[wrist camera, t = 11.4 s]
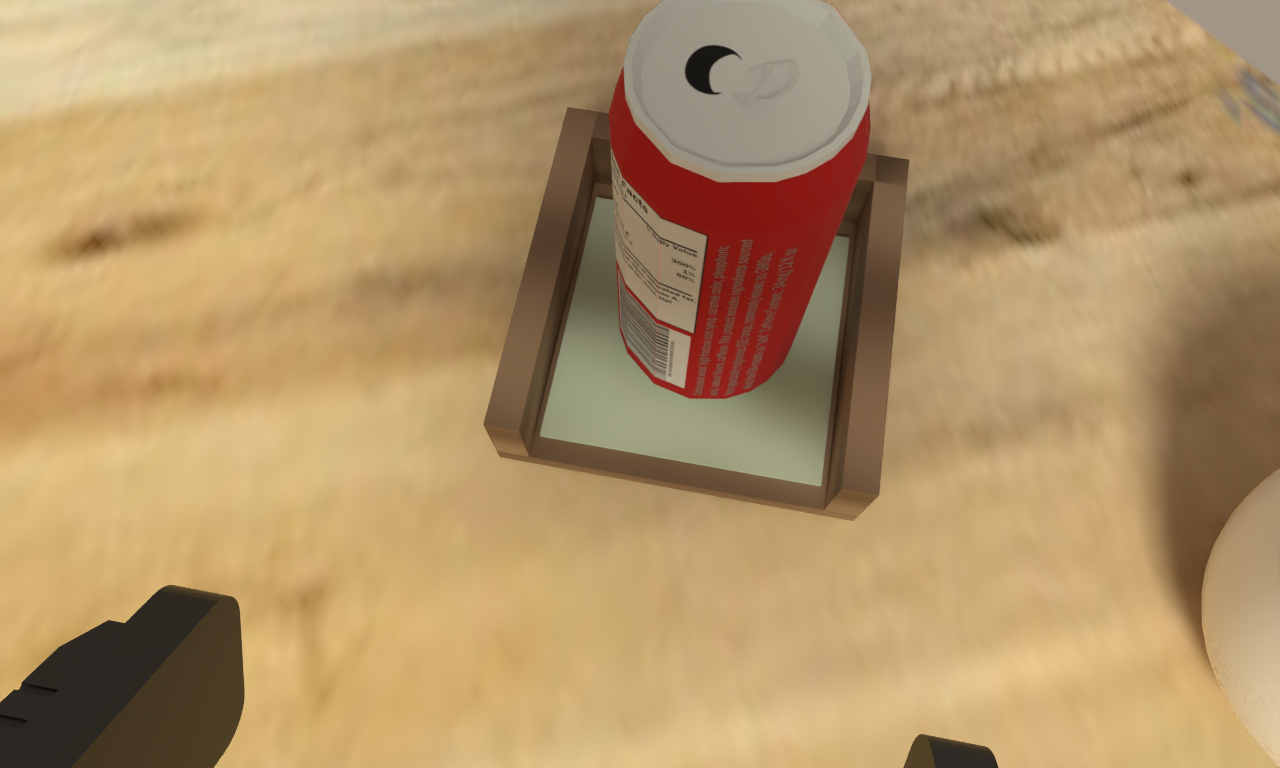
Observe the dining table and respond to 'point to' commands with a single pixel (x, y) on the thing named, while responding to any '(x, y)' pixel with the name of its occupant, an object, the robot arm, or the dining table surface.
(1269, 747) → the lidded jar
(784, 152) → the soda can
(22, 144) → the dining table surface
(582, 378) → the caddy
